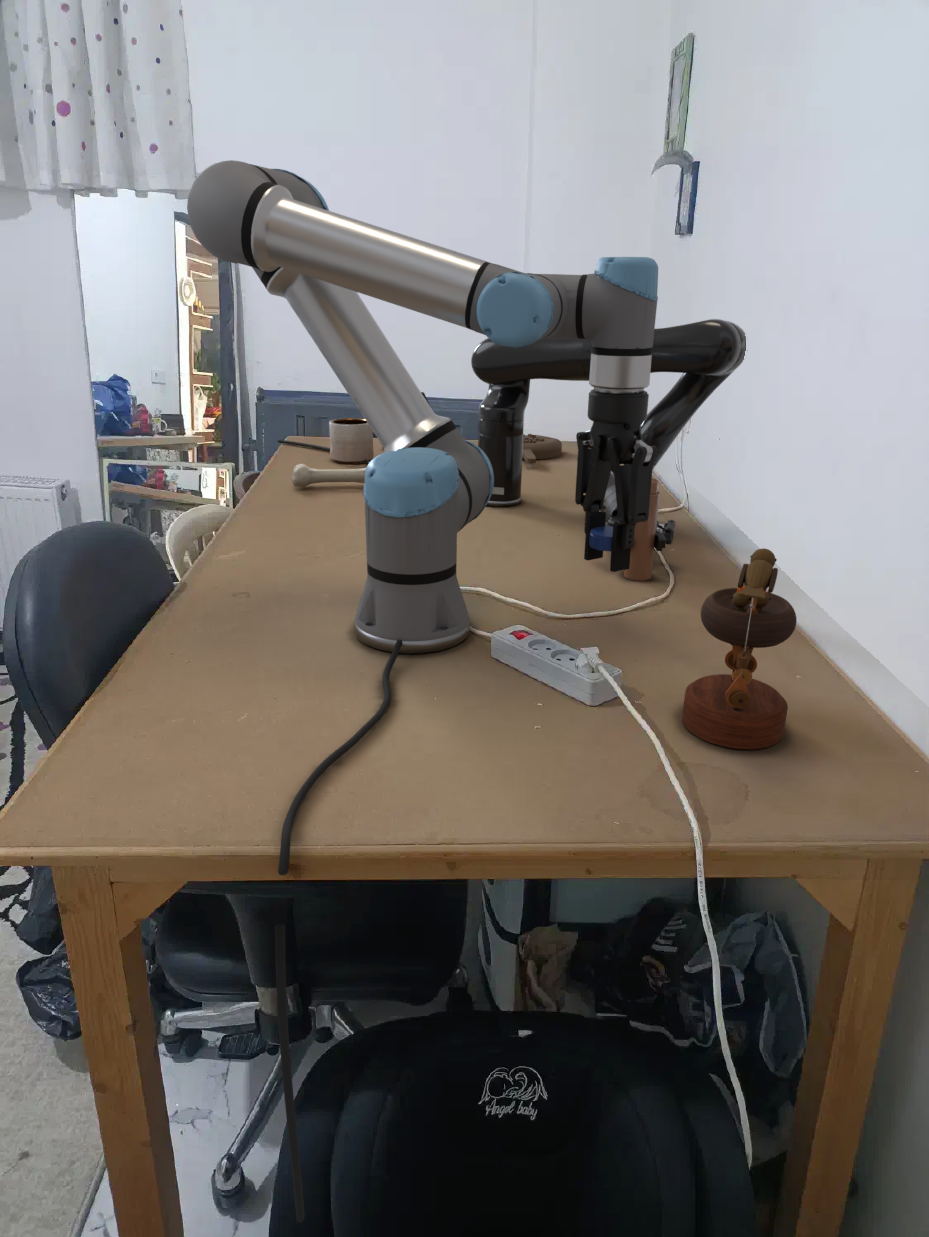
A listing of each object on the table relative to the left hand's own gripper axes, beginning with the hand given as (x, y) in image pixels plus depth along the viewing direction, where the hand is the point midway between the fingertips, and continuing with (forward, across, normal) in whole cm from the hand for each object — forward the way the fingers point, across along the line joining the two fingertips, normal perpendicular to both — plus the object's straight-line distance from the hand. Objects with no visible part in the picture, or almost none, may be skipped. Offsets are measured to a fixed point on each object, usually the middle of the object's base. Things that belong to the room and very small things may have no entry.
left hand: (606, 563), depth 116 cm
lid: (-4, 0, 0) cm, 4 cm away
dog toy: (+7, +88, +3) cm, 89 cm away
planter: (+7, +114, -11) cm, 114 cm away
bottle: (+8, +11, -16) cm, 21 cm away
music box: (+8, -30, +7) cm, 32 cm away
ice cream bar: (+8, +96, -52) cm, 110 cm away
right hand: (+2, +9, -15) cm, 17 cm away
